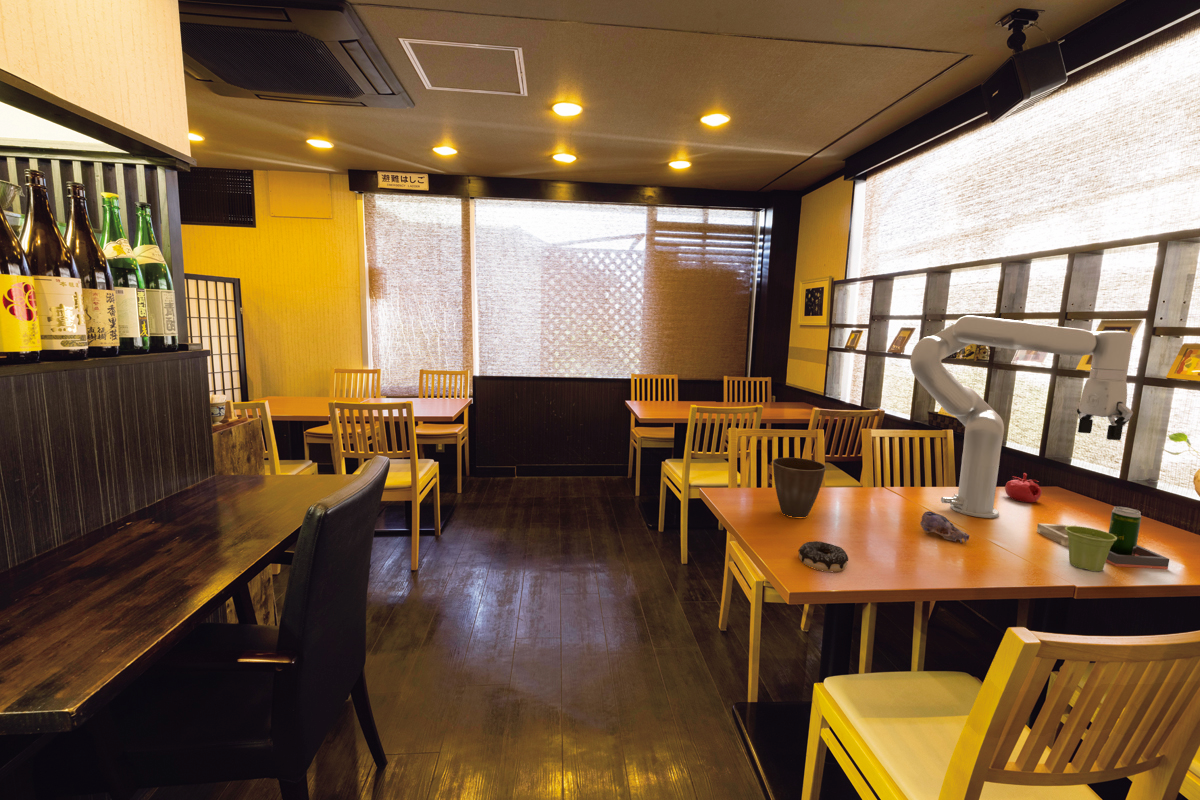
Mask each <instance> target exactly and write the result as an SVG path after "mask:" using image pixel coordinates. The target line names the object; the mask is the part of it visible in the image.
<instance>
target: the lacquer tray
mask: <svg viewBox="0 0 1200 800" xmlns="http://www.w3.org/2000/svg"><path fill="white" fill-rule="evenodd" d="M1105 563H1108V564H1110V565H1112V566H1115V567H1125V568H1126V567H1128V568H1142V569H1143V568H1144V569H1158V570H1159V569H1160V570H1168V569H1169V564H1170V558H1168V557H1166V556H1163V555H1161V554H1159V553H1157V552H1154V551H1152V550H1150V549H1148V548H1145V547H1143V546H1141V545H1138V544H1137V546H1136V552H1135V556H1133V555H1118V554H1115V553H1113V552H1111V551H1109V553H1108V556H1107V559H1106V562H1105Z"/></svg>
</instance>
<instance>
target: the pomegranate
mask: <svg viewBox="0 0 1200 800" xmlns="http://www.w3.org/2000/svg"><path fill="white" fill-rule="evenodd" d="M1027 476H1028V474H1027V473H1026V472H1023V475H1022V478H1021V477H1017V476H1015V475H1013V476H1012V475H1011V477H1012V479H1011V480H1009V481H1007V482H1006V483H1005V486H1004V490H1005V493H1006V495H1007V496H1008V497H1009V498H1010V499H1011V500H1012V501H1018V502H1022V503H1028V504H1031V503H1035V502H1037V501H1039V500H1040V498H1041V496H1042V494H1043V493H1042V488H1041V487H1040V485H1039V484H1038V483H1039V482H1040V481H1038V480H1036V479H1027ZM1035 482H1036V483H1035Z"/></svg>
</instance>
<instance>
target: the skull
mask: <svg viewBox="0 0 1200 800" xmlns="http://www.w3.org/2000/svg"><path fill="white" fill-rule="evenodd" d="M919 525H920V526H921V528H922V530H924V532H927V533H935V534H936V535H940V536H941V537H943V539H945V540H946V541H947V540H948V541H953V542H957V540H959V542H960V543H962V541H965V543H966V542H967V541H969V540H970V534H968V533H967V532H964V531H962V530H960V529H959V528H957V527H956V526H955V525H954V524H953V522H951V521H950V520H949V519H948V518H947V517H946V516H944V515H942V514H940V513H935V512H934V511H931V510H930V511H929V510H927V511H925V512H924V513H923V514H922V515H921V520H920V523H919Z"/></svg>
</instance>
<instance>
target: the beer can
mask: <svg viewBox="0 0 1200 800" xmlns="http://www.w3.org/2000/svg"><path fill="white" fill-rule="evenodd" d="M1141 513H1142V512H1141V511H1140V510H1138V509H1134V508H1131V507H1125V506H1113V509H1112V511H1111V515H1110V521H1109V527H1108V533H1110V534H1112V535H1114V536H1116V537H1117V540H1116V541H1114V543H1113V545H1112V546H1111V548H1110V551H1111V552H1113V553H1115V554H1118V555H1133V556H1135V552H1136V546H1137V545H1138V539H1139V533H1140V527H1141V523H1142V515H1141Z"/></svg>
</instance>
